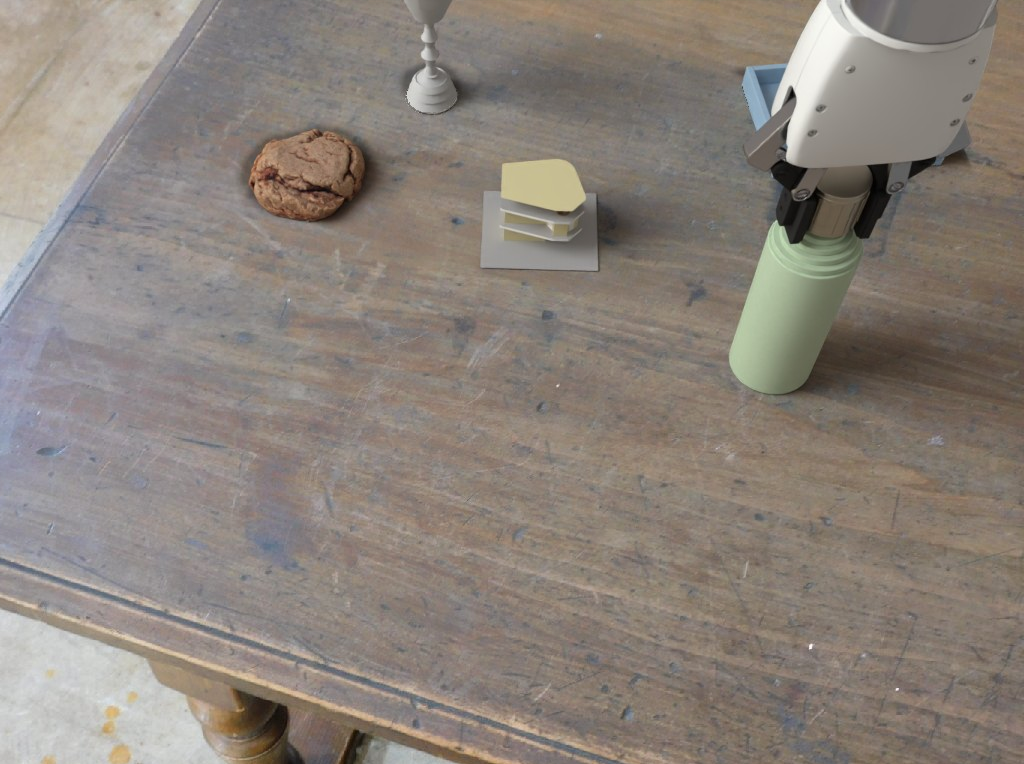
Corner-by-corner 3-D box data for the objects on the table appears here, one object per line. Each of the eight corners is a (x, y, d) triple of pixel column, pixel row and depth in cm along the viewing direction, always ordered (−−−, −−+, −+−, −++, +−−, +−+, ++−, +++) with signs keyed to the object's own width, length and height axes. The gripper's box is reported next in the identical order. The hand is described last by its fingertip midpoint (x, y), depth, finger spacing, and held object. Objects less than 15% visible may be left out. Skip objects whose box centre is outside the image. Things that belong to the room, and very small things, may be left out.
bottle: (799, 326, 87) (873, 144, 71) (820, 391, 84) (903, 216, 67) (720, 333, 87) (776, 153, 71) (738, 398, 84) (801, 226, 67)
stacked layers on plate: (480, 268, 92) (481, 223, 87) (483, 191, 96) (484, 144, 92) (598, 271, 91) (605, 226, 86) (596, 193, 96) (603, 147, 91)
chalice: (468, 121, 101) (468, -54, 86) (395, 124, 101) (383, -51, 86) (466, 69, 105) (466, -108, 89) (396, 71, 105) (384, -105, 90)
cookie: (388, 176, 98) (386, 151, 95) (303, 242, 94) (299, 218, 91) (313, 125, 101) (309, 100, 99) (228, 187, 98) (222, 162, 95)
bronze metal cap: (856, 241, 70) (873, 202, 67) (794, 234, 71) (808, 194, 68) (857, 197, 72) (873, 157, 69) (796, 190, 73) (810, 150, 70)
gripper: (1053, -72, 58) (928, 176, 74) (747, -49, 58) (687, 194, 74) (1108, 17, 55) (964, 259, 70) (781, 42, 54) (710, 278, 70)
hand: (823, 223), depth 72 cm, fingers closed on bronze metal cap, 3 cm apart
